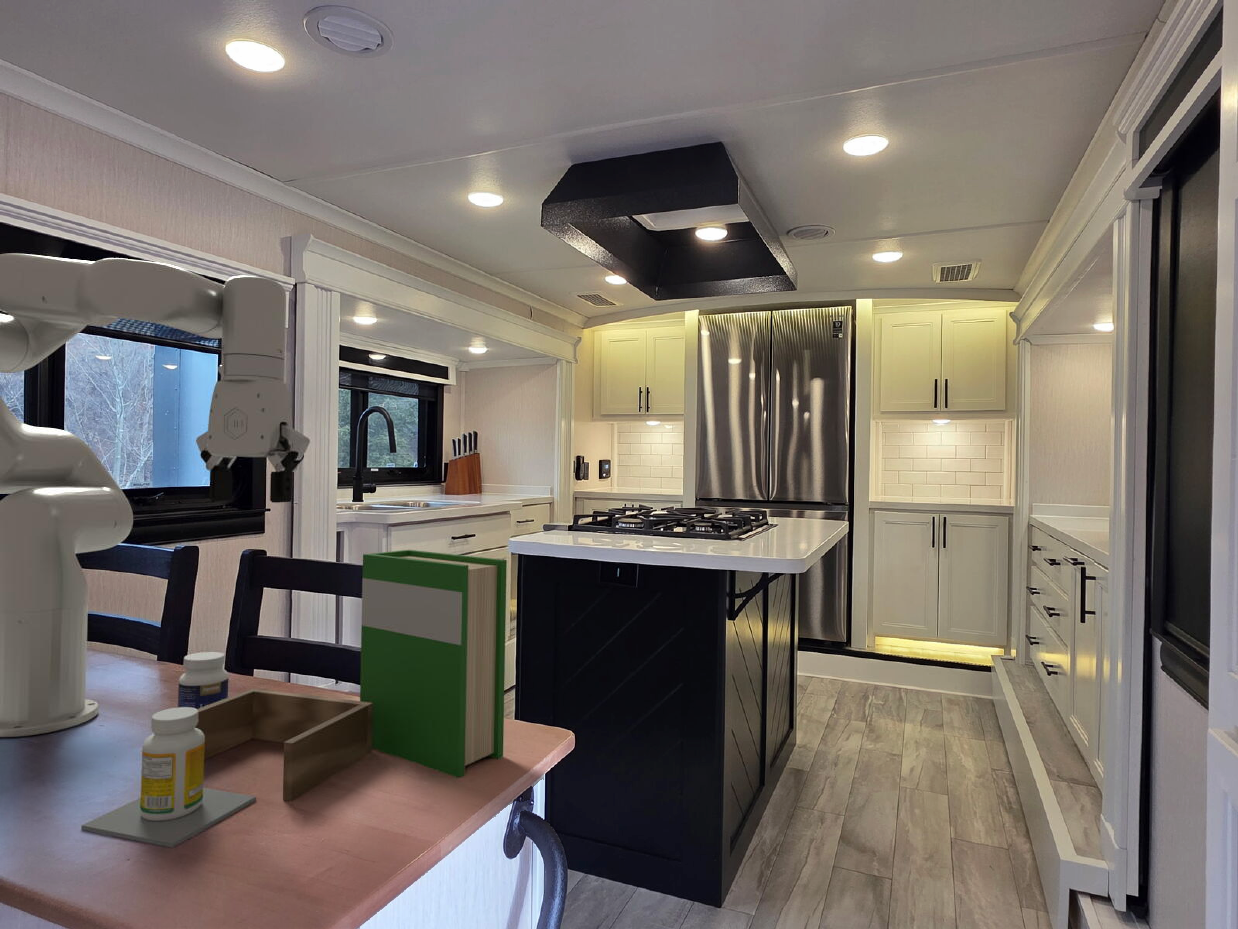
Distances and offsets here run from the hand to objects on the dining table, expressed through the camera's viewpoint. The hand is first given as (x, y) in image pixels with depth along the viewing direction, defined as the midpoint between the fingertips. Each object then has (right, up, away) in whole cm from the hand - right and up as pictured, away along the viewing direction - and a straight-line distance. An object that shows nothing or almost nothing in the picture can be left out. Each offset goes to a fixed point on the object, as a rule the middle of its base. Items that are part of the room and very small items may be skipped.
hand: (250, 501), depth 95 cm
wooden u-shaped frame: (+8, -30, -11) cm, 33 cm away
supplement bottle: (+4, -30, -23) cm, 38 cm away
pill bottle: (-6, -30, -1) cm, 31 cm away
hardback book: (+25, -31, -6) cm, 40 cm away
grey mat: (+4, -30, -24) cm, 38 cm away
